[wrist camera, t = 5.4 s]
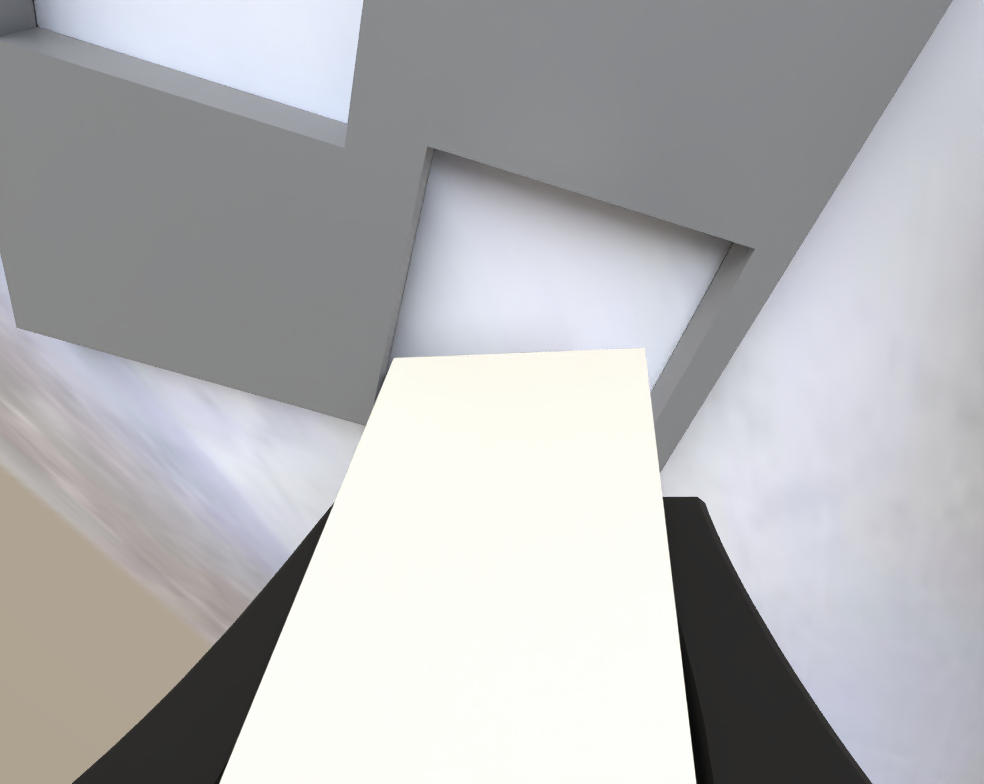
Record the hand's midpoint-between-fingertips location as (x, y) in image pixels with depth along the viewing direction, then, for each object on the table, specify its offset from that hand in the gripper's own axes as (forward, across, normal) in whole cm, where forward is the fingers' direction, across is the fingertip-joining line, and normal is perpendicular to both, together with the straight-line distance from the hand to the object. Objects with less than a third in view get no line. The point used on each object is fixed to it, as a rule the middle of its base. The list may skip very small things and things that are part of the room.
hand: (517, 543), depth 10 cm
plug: (+2, 0, 0) cm, 2 cm away
